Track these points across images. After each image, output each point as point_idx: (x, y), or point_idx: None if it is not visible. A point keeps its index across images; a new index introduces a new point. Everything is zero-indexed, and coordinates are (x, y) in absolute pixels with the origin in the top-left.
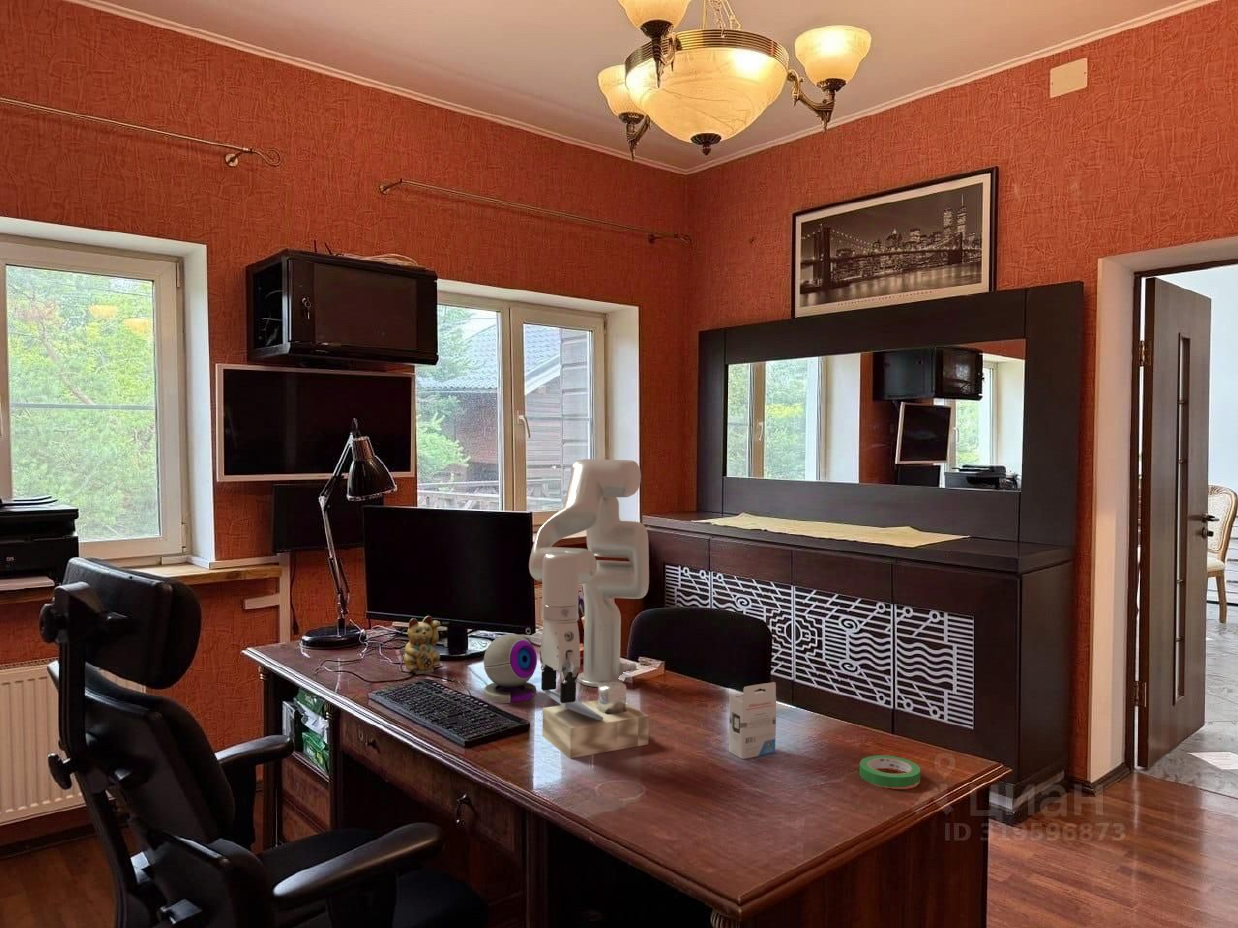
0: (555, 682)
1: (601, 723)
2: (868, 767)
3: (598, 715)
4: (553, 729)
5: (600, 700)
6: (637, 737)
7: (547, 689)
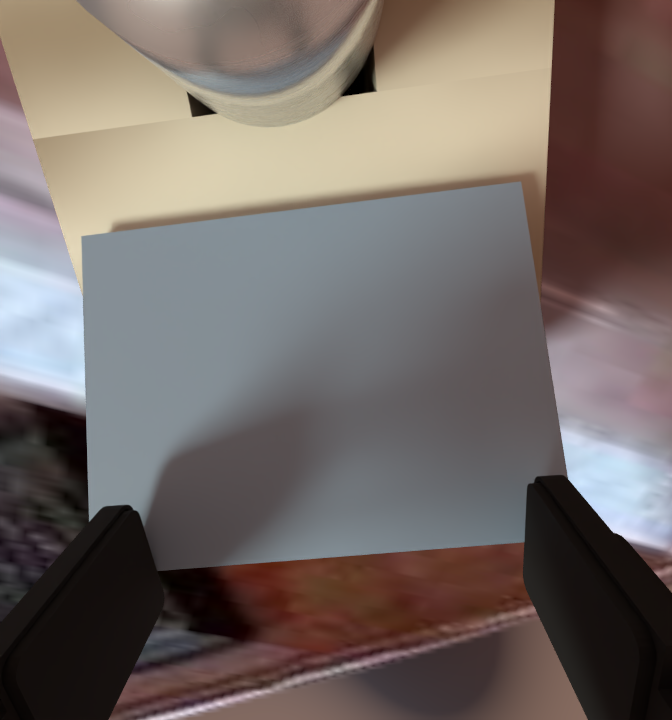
0: (103, 553)
1: (543, 214)
2: None
3: (505, 219)
4: None
5: (284, 98)
6: None
7: (156, 572)
